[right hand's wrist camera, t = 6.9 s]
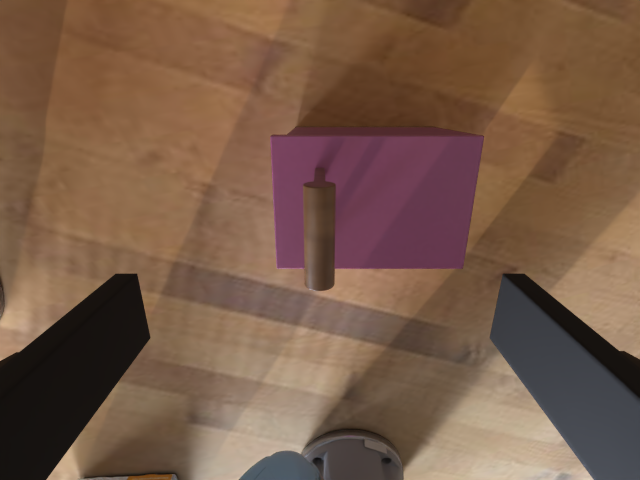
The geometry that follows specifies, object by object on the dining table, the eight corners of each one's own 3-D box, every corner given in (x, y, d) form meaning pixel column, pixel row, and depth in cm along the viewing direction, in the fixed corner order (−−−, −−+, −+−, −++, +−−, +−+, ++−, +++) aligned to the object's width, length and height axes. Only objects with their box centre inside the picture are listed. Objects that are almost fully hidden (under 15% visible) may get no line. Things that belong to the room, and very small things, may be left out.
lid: (278, 263, 28) (262, 321, 21) (272, 134, 25) (250, 147, 17) (458, 263, 28) (509, 321, 21) (478, 134, 25) (548, 147, 17)
